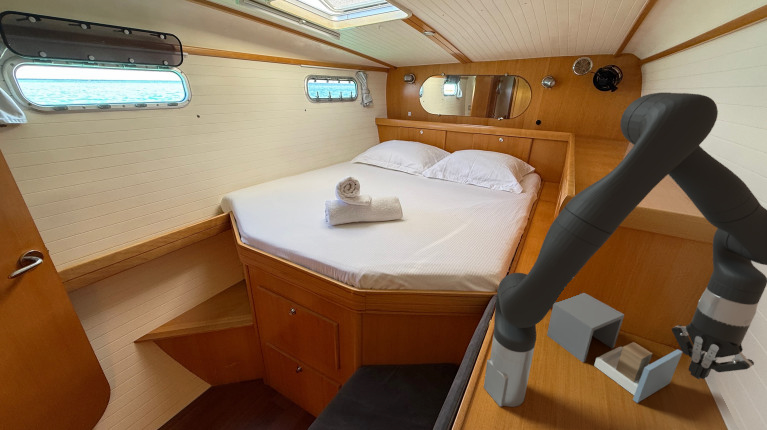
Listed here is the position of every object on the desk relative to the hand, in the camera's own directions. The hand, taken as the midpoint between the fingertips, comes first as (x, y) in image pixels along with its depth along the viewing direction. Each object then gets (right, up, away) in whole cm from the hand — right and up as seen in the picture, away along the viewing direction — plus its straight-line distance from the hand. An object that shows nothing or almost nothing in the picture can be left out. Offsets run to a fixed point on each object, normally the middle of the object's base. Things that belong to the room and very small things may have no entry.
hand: (696, 375), depth 68 cm
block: (-4, -6, +13) cm, 15 cm away
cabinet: (-10, -3, +26) cm, 28 cm away
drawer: (-4, -7, +14) cm, 16 cm away
